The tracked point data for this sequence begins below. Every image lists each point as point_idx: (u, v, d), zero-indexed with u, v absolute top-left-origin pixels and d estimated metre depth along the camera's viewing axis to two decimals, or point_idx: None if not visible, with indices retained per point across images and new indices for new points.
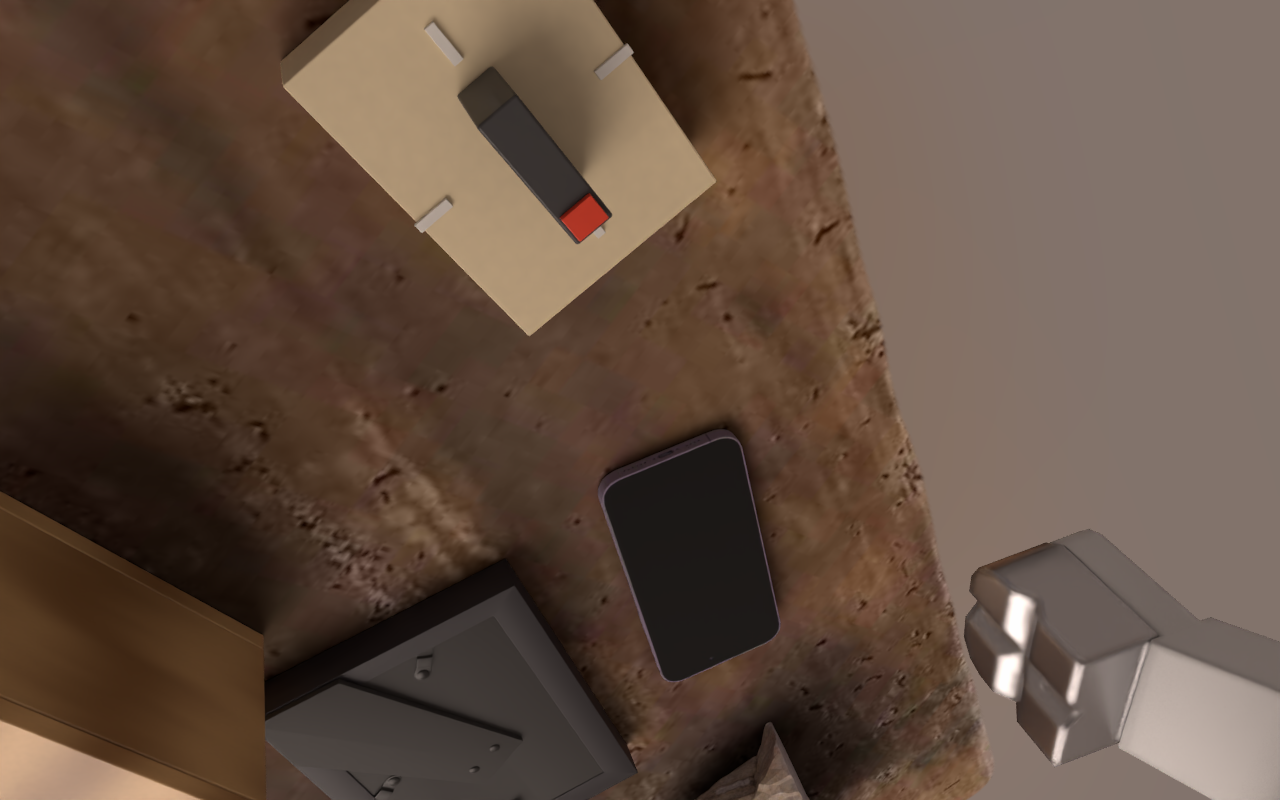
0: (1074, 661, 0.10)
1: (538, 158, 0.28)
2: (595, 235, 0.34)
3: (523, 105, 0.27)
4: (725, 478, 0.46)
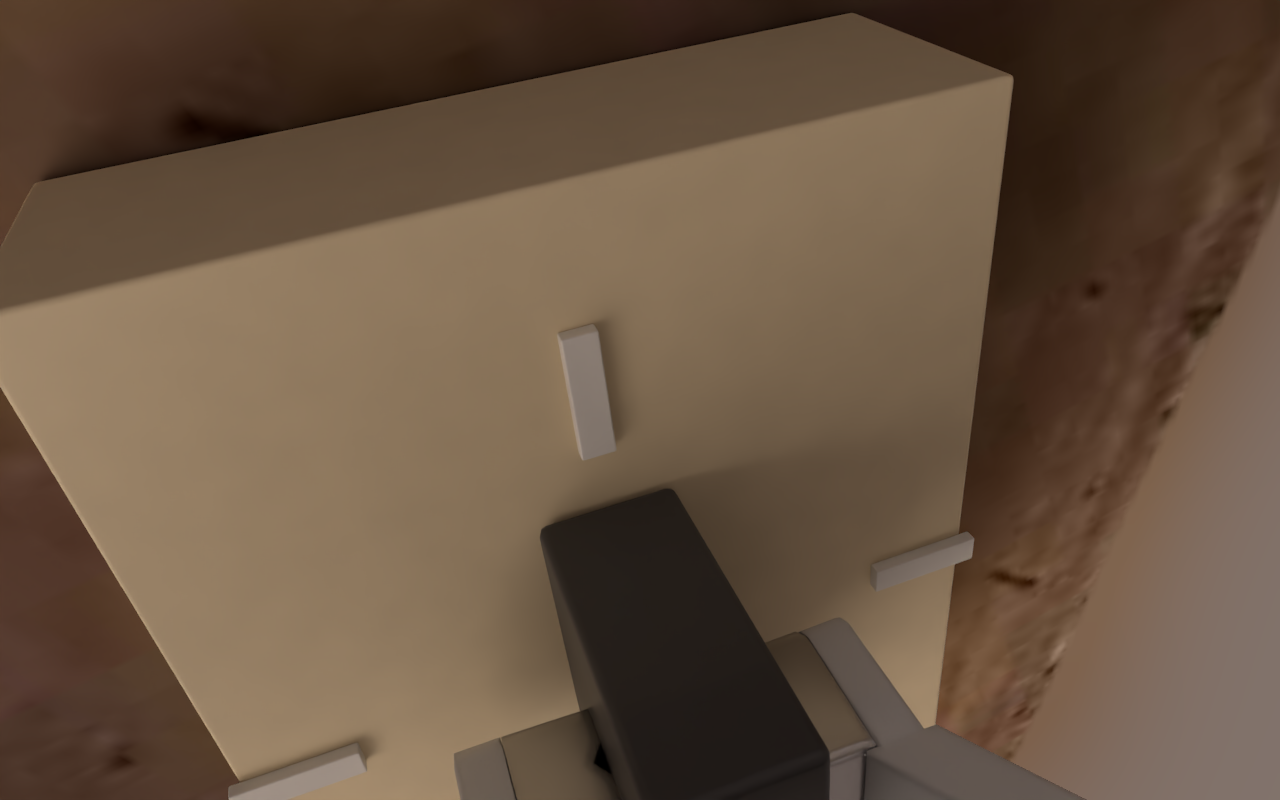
0: None
1: None
2: None
3: (827, 783, 0.07)
4: None
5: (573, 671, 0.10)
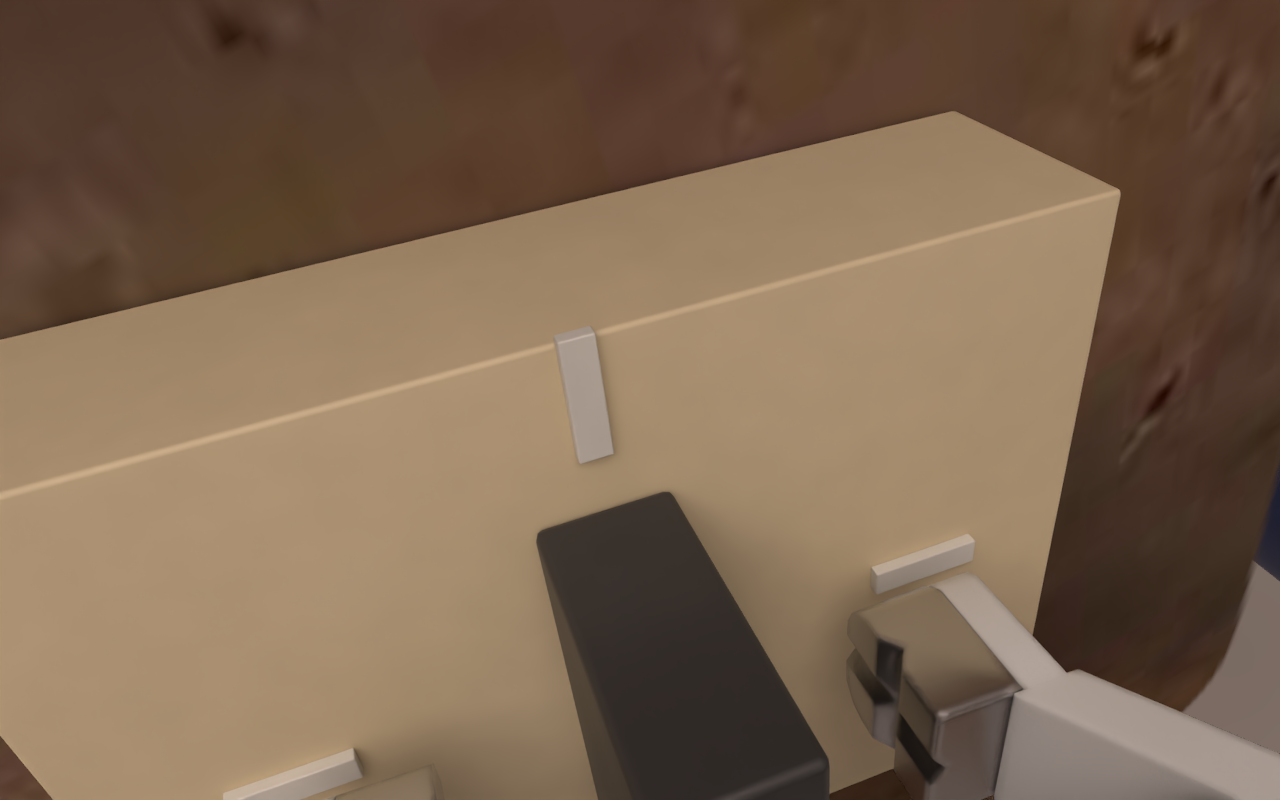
0: (934, 716, 0.09)
1: None
2: (231, 791, 0.10)
3: (827, 791, 0.07)
4: None
5: (571, 676, 0.10)
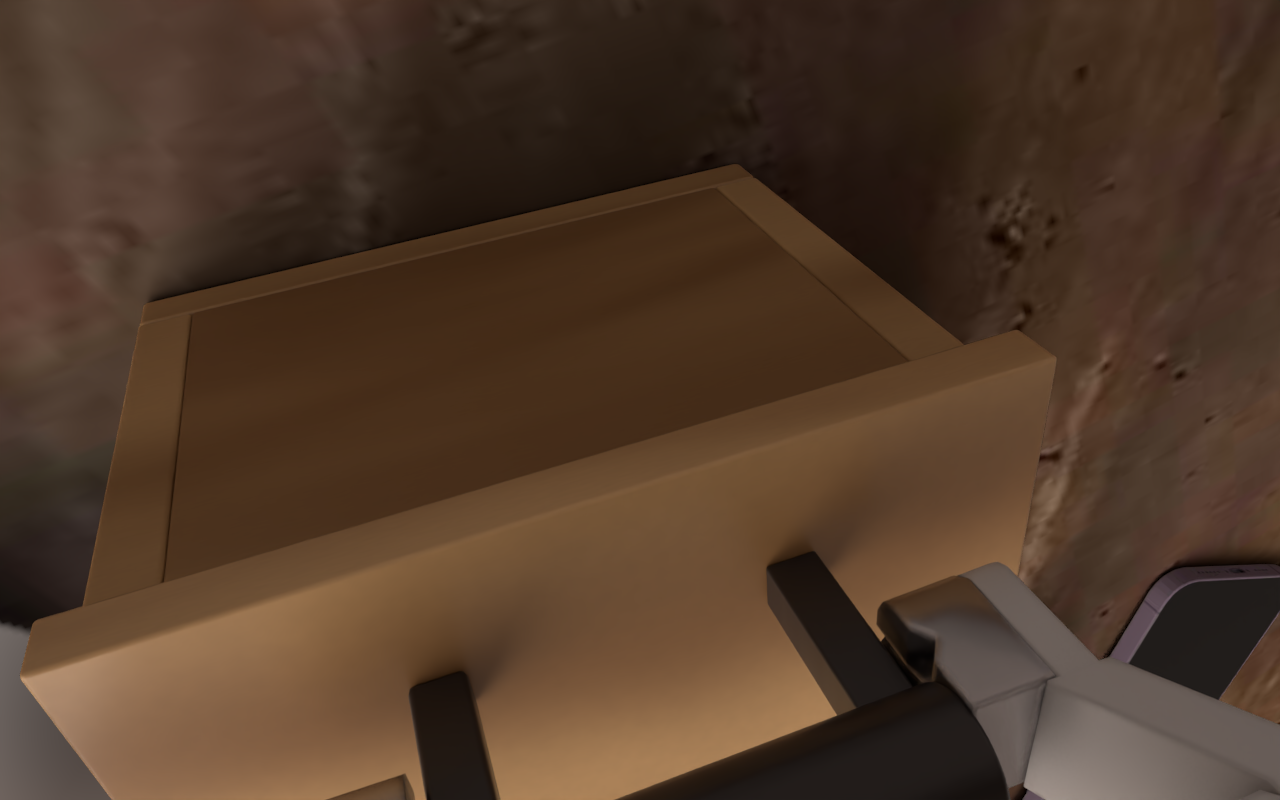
0: (967, 702, 0.09)
1: None
2: None
3: None
4: (1250, 626, 0.37)
5: None
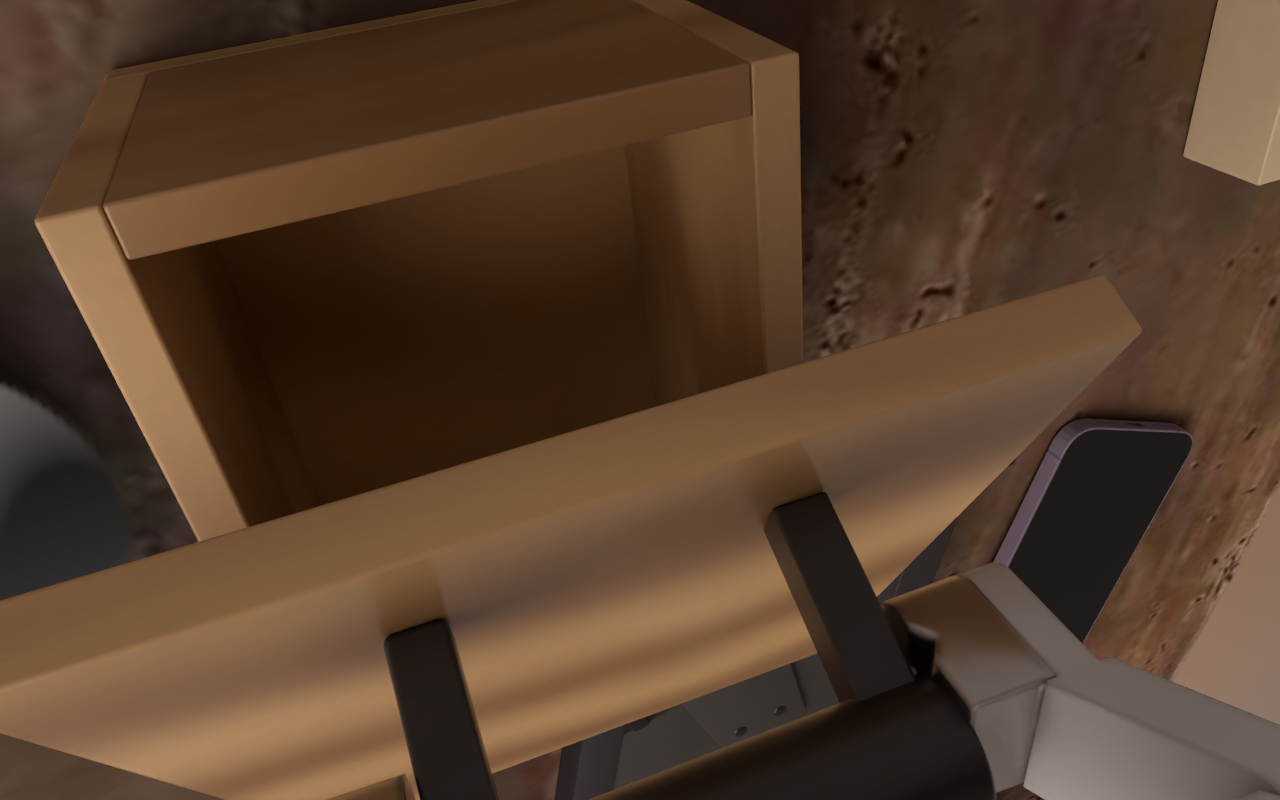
0: (967, 703, 0.09)
1: None
2: None
3: None
4: (1153, 482, 0.40)
5: None
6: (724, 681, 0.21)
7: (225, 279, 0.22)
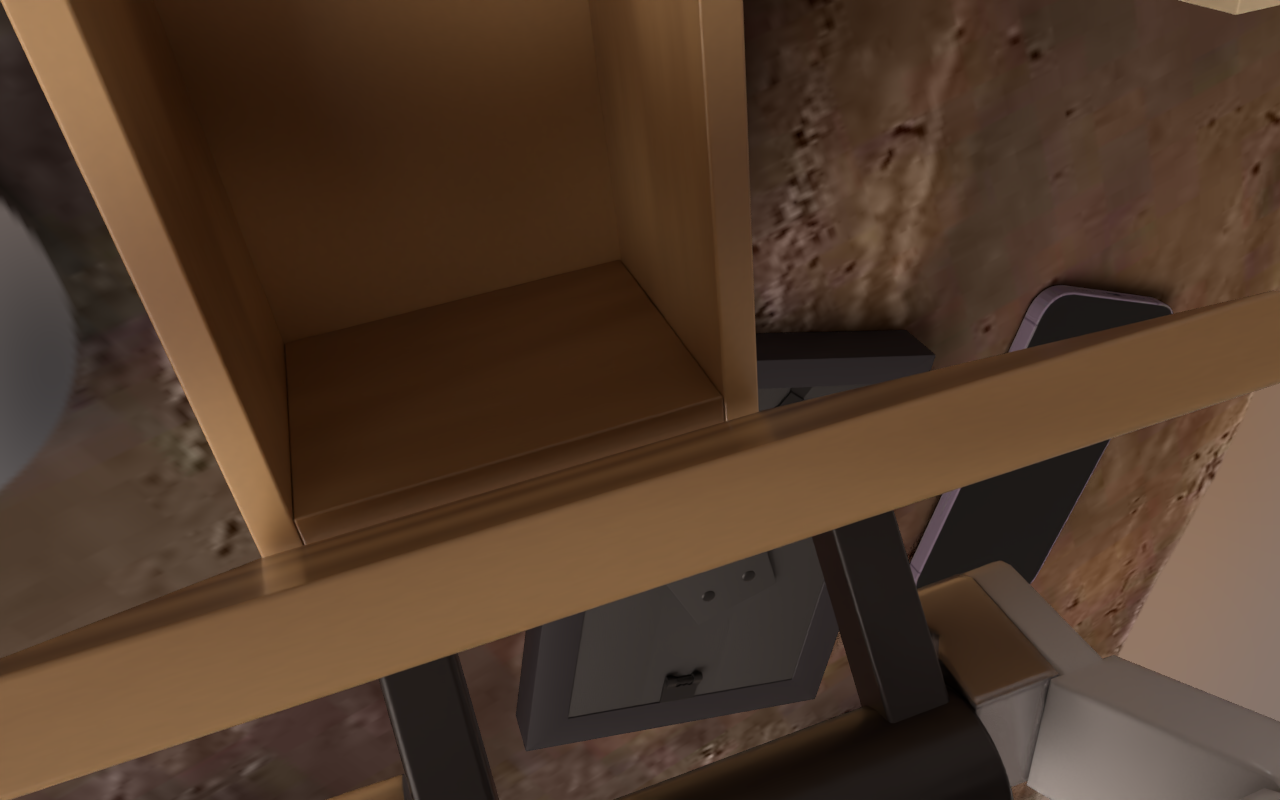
0: (971, 701, 0.09)
1: None
2: None
3: None
4: None
5: None
6: None
7: (163, 41, 0.21)
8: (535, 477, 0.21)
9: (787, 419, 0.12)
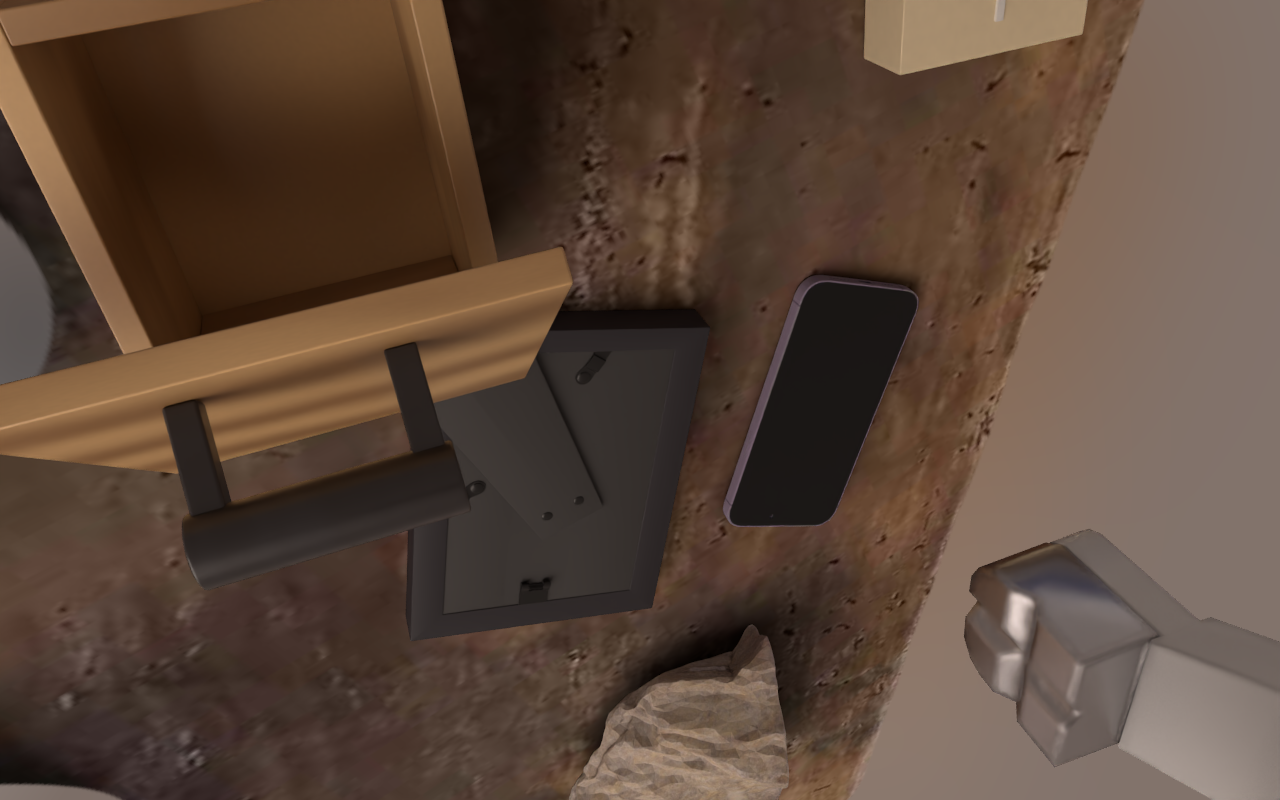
0: (1074, 661, 0.10)
1: None
2: (994, 18, 0.39)
3: None
4: (889, 333, 0.50)
5: None
6: (447, 396, 0.32)
7: (107, 108, 0.32)
8: None
9: None
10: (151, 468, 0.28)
